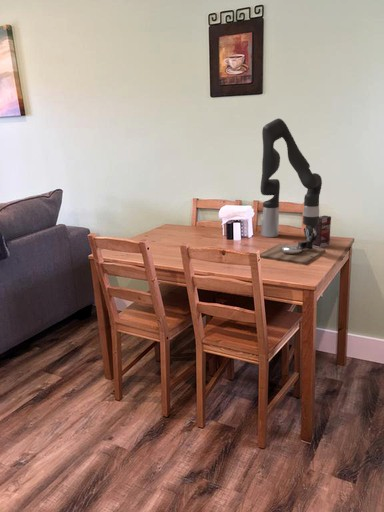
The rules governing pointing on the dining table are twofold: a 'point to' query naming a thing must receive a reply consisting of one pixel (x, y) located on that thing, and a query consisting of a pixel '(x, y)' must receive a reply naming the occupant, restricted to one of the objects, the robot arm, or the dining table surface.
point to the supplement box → (323, 232)
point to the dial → (295, 248)
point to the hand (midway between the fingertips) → (309, 248)
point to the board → (292, 255)
